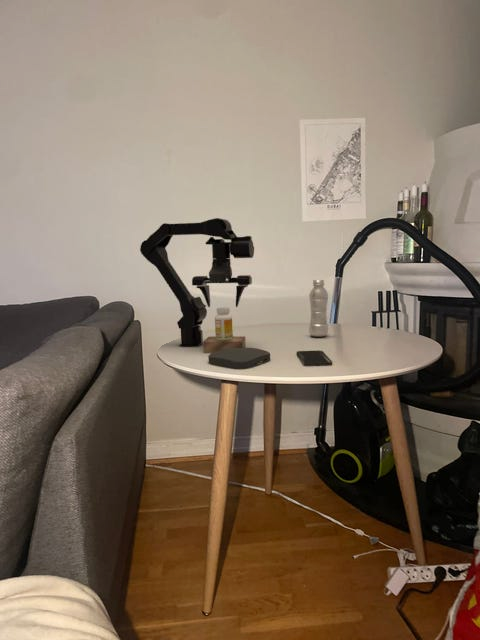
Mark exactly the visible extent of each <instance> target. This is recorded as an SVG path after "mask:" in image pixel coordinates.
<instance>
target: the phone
mask: <svg viewBox="0 0 480 640" xmlns="http://www.w3.org/2000/svg"><path fill="white" fill-rule="evenodd" d="M296 356H297V358H298V360H299V362H300V363H301V364H302V366H303V367H330V366H333V361H332V360H331V359H330V358H329V356H328V355H327V354H326V353H325V351H323V350H298V351H296Z"/></svg>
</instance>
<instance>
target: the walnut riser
mask: <svg viewBox="0 0 480 640" xmlns="http://www.w3.org/2000/svg"><path fill="white" fill-rule="evenodd" d="M202 344H203V353H204V354H211V353H213V352H216V351H219V350H222V349H229V348H247V347H246V345H247V344H246V336H245V335H244V336H241V335H239V336H238V335H237V336H233V338H232V339H230V340H217V339H216V336H207V337H206V338H205V339H203V342H202Z"/></svg>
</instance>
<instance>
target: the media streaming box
mask: <svg viewBox="0 0 480 640" xmlns="http://www.w3.org/2000/svg"><path fill="white" fill-rule="evenodd" d="M270 361H271V353H270V352H269V351H267V350H265V349H261V348H255V347H246V348H229V349H222V350H219V351H216V352H213V353H209V355H208V364H209V365H213V366H216V365H217V366H216V367H222V368H227V369H232V368H233V370H247V369H251V368H254V367H257V366H260V365H263V364H265V363H269V362H270Z"/></svg>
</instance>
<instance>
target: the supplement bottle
mask: <svg viewBox="0 0 480 640" xmlns="http://www.w3.org/2000/svg"><path fill="white" fill-rule="evenodd" d="M214 327H215V329H214V330H215V337H216V339H217V340H230V339H232V338H233V335H234V334H233V333H234V332H233V331H234V330H233V316H232V315H231V314H230V307H217V308H216V315H215V316H214Z"/></svg>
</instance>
